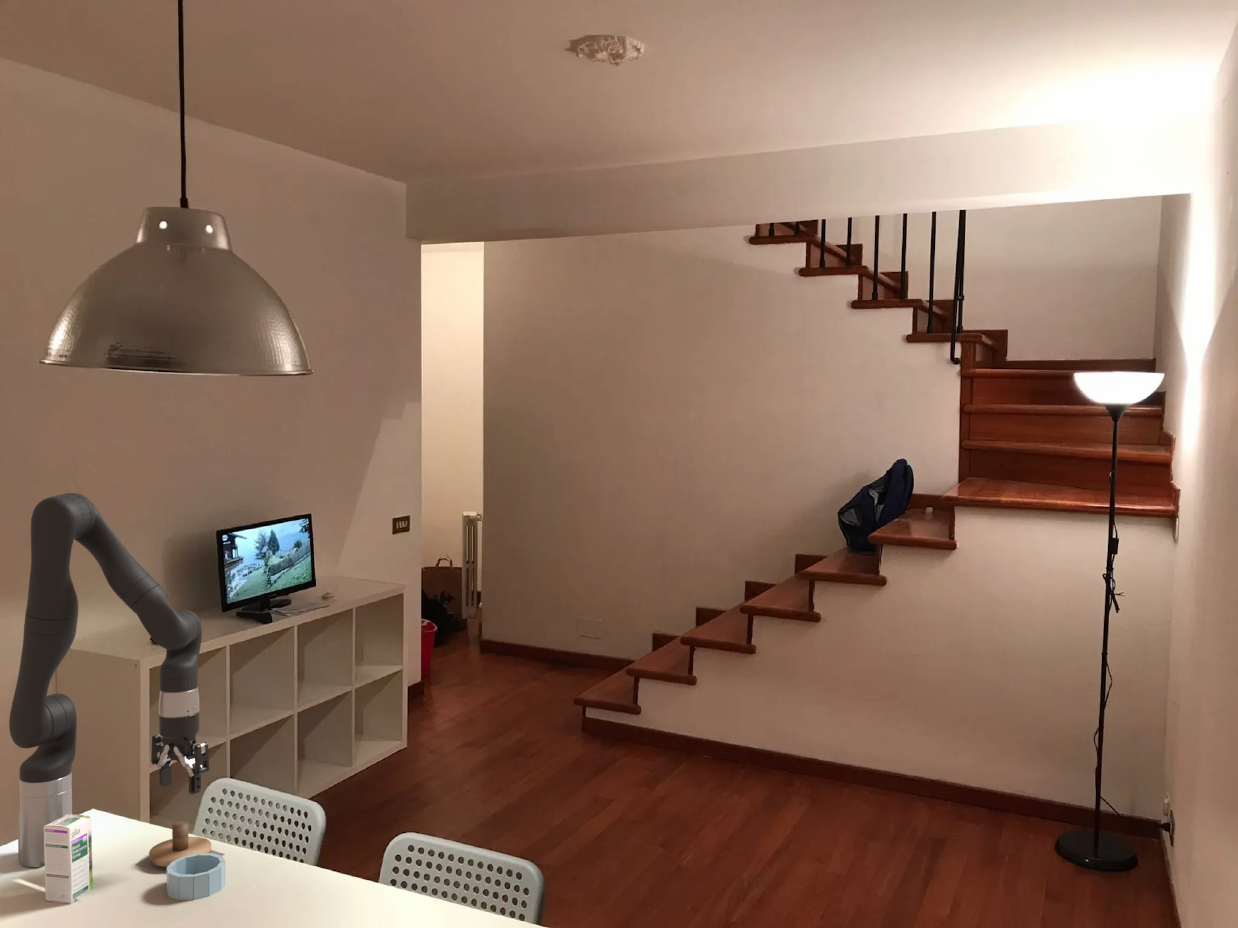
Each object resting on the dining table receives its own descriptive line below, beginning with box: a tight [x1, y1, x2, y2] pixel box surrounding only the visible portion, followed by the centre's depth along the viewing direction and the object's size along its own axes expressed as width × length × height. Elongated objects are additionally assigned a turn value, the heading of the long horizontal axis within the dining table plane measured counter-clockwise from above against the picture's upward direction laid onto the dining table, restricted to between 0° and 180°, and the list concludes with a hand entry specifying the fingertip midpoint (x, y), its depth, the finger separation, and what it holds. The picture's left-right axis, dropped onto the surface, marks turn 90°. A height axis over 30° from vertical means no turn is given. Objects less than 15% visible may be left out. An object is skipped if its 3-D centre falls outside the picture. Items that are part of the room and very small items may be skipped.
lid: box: [148, 820, 212, 867], centre depth 204 cm, size 12×12×7 cm
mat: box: [134, 849, 226, 875], centre depth 204 cm, size 12×12×1 cm
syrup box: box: [44, 814, 94, 905], centre depth 189 cm, size 6×6×14 cm
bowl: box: [166, 853, 226, 901], centre depth 192 cm, size 10×10×5 cm
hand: (180, 789), depth 203 cm, fingers open, 8 cm apart
